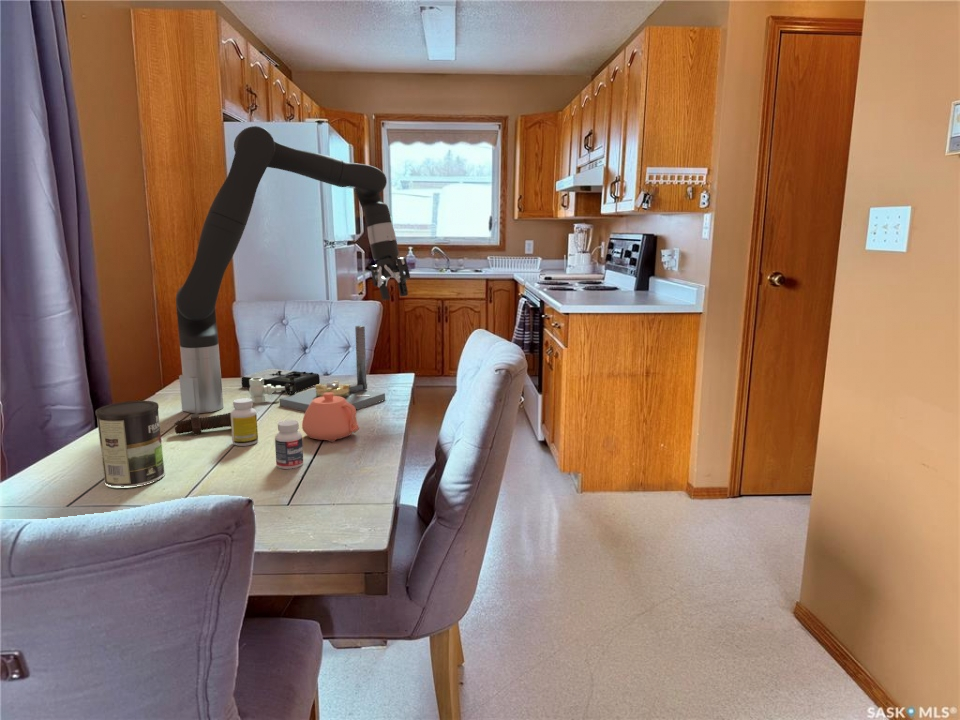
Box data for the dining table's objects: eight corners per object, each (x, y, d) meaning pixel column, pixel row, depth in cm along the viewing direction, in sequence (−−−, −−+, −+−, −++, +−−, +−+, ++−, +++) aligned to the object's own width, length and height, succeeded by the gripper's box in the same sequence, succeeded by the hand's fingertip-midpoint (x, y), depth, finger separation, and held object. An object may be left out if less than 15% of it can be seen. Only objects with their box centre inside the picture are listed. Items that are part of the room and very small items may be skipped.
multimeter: (293, 394, 185) (292, 378, 184) (241, 388, 192) (240, 372, 191) (320, 385, 197) (319, 369, 196) (270, 379, 204) (269, 364, 203)
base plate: (333, 417, 161) (333, 408, 161) (279, 405, 172) (279, 397, 171) (385, 400, 178) (384, 392, 177) (333, 390, 188) (333, 383, 188)
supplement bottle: (262, 443, 141) (259, 400, 139) (237, 448, 138) (234, 404, 136) (252, 437, 145) (249, 395, 143) (228, 442, 142) (225, 399, 140)
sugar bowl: (326, 425, 155) (324, 384, 153) (374, 433, 149) (372, 391, 147) (291, 439, 144) (288, 396, 142) (340, 449, 138) (339, 403, 136)
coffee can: (169, 466, 127) (162, 398, 124) (159, 486, 117) (152, 412, 115) (111, 471, 124) (103, 402, 121) (97, 492, 114) (87, 416, 112)
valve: (250, 405, 172) (296, 401, 176) (248, 382, 171) (295, 378, 175) (249, 399, 178) (293, 395, 182) (247, 376, 177) (292, 373, 181)
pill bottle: (288, 471, 125) (286, 428, 123) (270, 466, 127) (268, 423, 126) (309, 463, 129) (307, 421, 127) (291, 458, 132) (289, 417, 130)
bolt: (176, 442, 147) (245, 431, 154) (175, 437, 143) (246, 426, 149) (173, 418, 149) (241, 408, 155) (172, 412, 144) (242, 403, 151)
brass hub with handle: (327, 400, 168) (324, 333, 164) (309, 394, 174) (306, 329, 171) (375, 391, 179) (373, 327, 175) (356, 385, 185) (354, 324, 181)
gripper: (358, 247, 182) (370, 303, 183) (387, 237, 171) (399, 296, 173) (379, 244, 187) (390, 299, 188) (408, 235, 177) (420, 292, 178)
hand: (395, 297), depth 181 cm, fingers open, 8 cm apart
